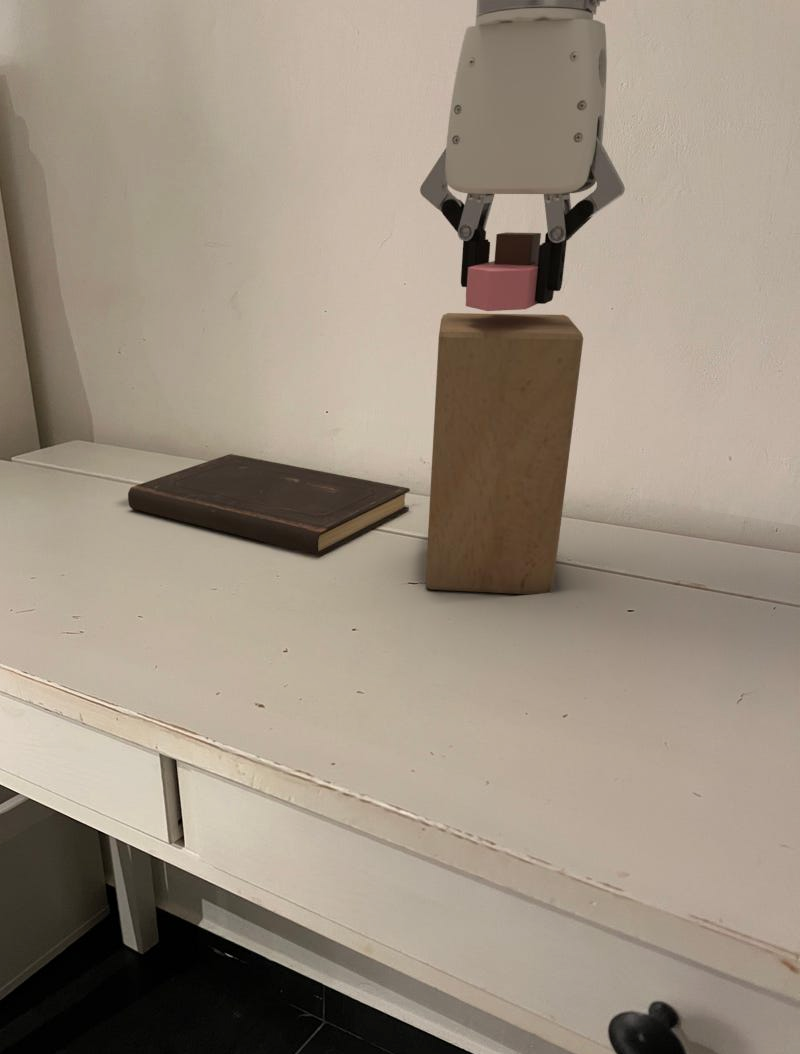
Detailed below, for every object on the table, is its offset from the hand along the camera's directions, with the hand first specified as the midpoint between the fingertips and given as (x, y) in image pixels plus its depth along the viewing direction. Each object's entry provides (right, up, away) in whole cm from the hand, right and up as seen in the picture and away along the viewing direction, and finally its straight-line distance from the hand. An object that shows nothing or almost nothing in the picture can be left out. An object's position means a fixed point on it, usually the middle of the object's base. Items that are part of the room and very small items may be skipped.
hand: (509, 297), depth 67 cm
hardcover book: (-19, -13, +24) cm, 33 cm away
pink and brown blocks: (0, -1, -1) cm, 1 cm away
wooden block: (0, -20, +10) cm, 22 cm away
